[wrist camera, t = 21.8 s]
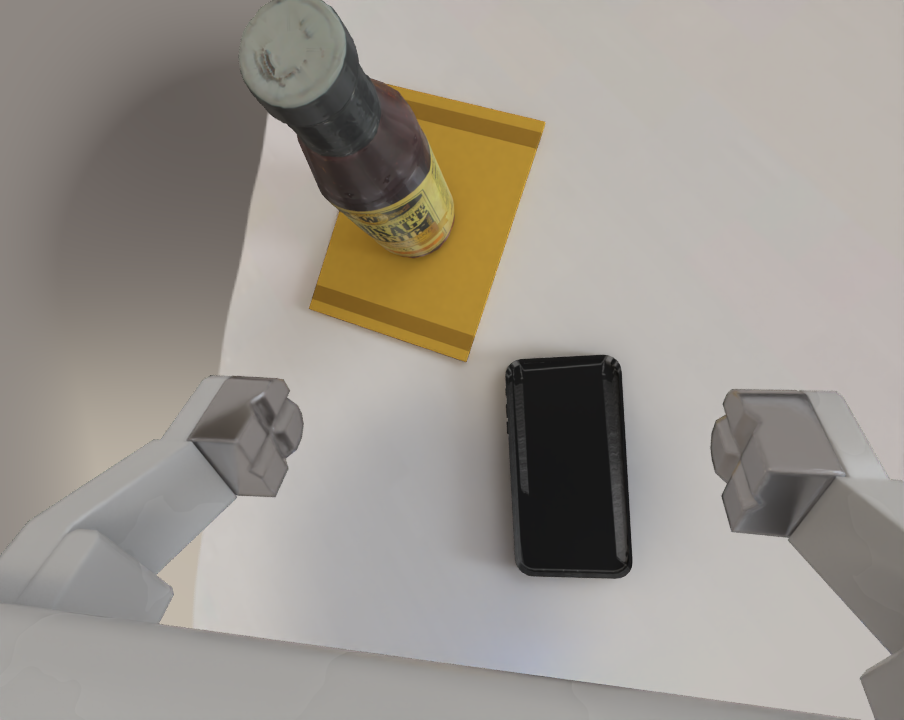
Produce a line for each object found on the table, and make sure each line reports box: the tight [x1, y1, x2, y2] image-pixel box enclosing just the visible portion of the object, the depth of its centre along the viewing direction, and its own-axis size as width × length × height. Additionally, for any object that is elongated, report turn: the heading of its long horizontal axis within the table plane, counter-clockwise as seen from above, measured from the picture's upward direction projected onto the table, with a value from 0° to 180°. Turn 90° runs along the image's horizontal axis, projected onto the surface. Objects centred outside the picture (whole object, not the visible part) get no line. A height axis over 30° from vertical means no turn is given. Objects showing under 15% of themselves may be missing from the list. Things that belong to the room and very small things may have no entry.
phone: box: [506, 355, 632, 579], centre depth 34 cm, size 8×1×15 cm
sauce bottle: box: [239, 0, 455, 258], centre depth 26 cm, size 6×6×20 cm
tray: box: [309, 84, 545, 362], centre depth 36 cm, size 18×13×1 cm
